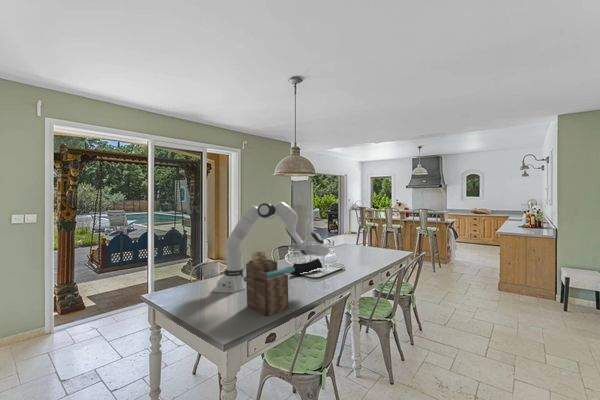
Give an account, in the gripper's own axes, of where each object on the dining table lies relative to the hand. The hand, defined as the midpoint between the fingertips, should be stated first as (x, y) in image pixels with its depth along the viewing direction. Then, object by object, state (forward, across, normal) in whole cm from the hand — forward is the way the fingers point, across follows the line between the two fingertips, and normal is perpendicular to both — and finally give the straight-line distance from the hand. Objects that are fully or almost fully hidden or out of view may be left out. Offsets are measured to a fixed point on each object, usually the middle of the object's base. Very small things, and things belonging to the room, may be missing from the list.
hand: (295, 245), depth 181 cm
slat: (+11, 0, +18) cm, 21 cm away
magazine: (-55, -42, +18) cm, 72 cm away
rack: (+10, -7, +38) cm, 40 cm away
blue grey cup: (-20, -69, +25) cm, 76 cm away
